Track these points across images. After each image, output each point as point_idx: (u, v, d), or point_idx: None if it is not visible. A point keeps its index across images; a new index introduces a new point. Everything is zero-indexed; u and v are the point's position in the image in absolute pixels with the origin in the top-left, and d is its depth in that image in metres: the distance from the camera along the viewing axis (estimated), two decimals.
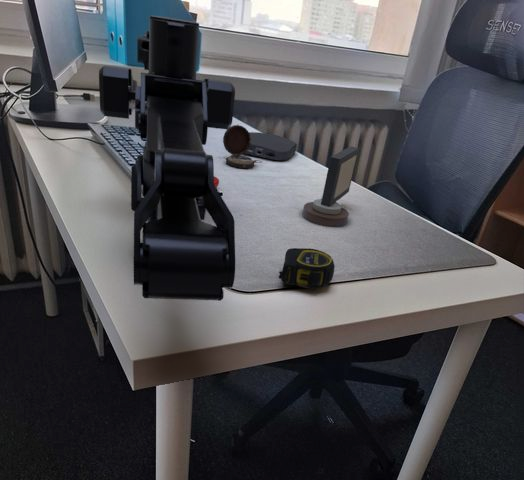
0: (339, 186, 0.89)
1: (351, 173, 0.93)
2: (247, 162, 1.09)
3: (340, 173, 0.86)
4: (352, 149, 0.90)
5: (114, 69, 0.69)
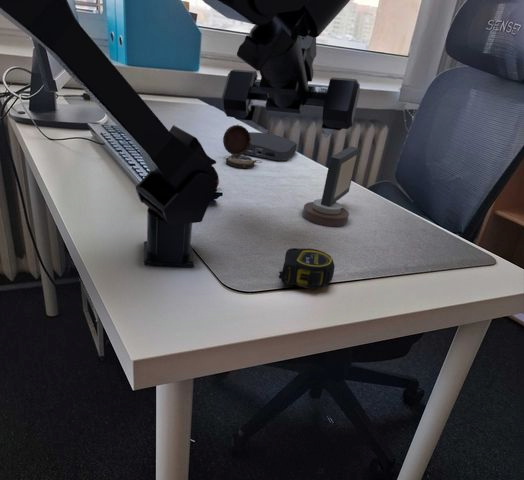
0: (339, 186, 0.89)
1: (351, 173, 0.93)
2: (247, 162, 1.09)
3: (340, 173, 0.86)
4: (352, 149, 0.90)
5: (243, 70, 0.72)
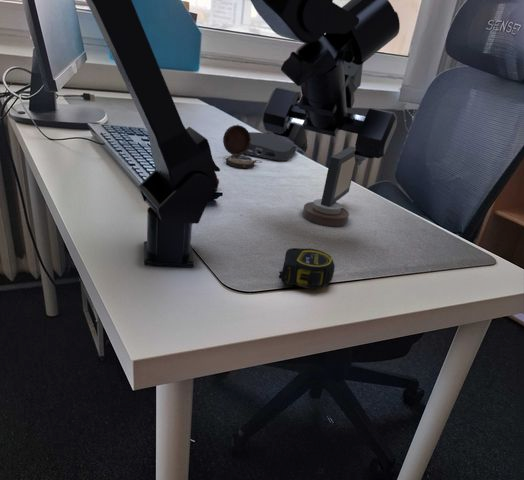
0: (339, 186, 0.89)
1: (351, 173, 0.93)
2: (247, 162, 1.09)
3: (340, 173, 0.86)
4: (352, 149, 0.90)
5: (288, 89, 0.75)
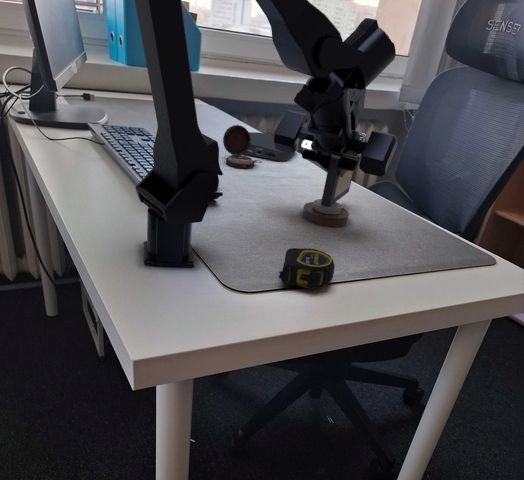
0: (339, 186, 0.89)
1: (351, 173, 0.93)
2: (247, 162, 1.09)
3: None
4: None
5: (297, 112, 0.81)
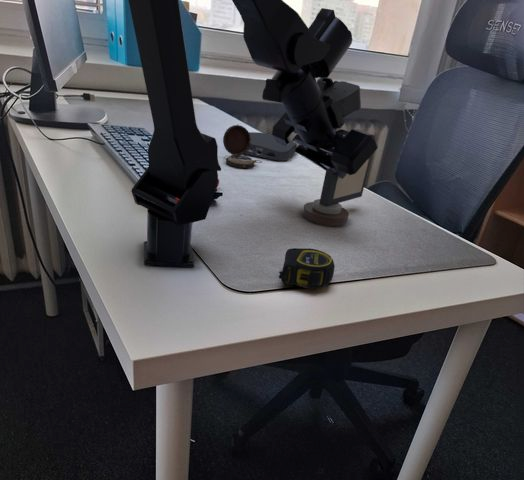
0: (341, 187, 0.88)
1: (362, 177, 0.92)
2: (247, 162, 1.09)
3: None
4: None
5: None
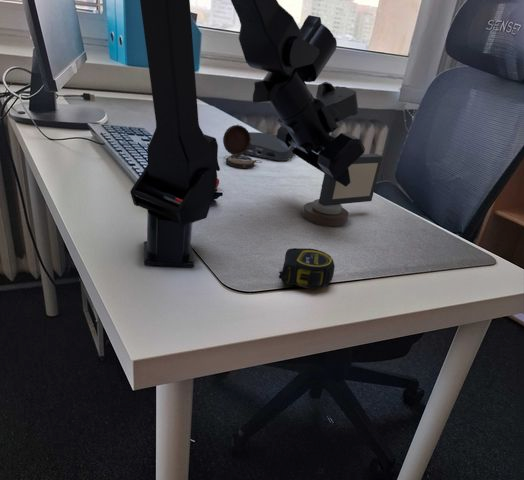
0: (342, 188, 0.88)
1: (370, 181, 0.91)
2: (247, 162, 1.09)
3: None
4: (371, 155, 0.88)
5: None
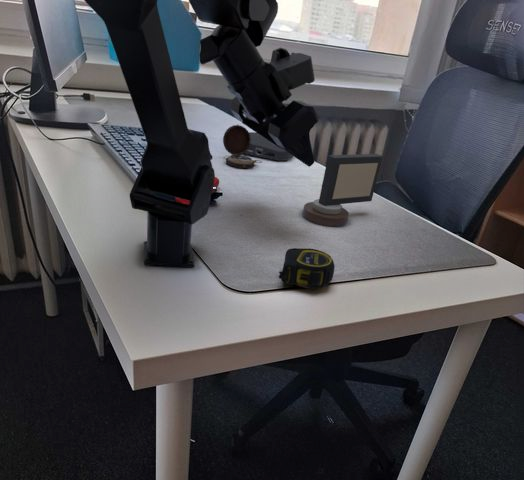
0: (342, 188, 0.88)
1: (370, 181, 0.91)
2: (247, 162, 1.09)
3: (340, 174, 0.86)
4: (371, 155, 0.88)
5: None
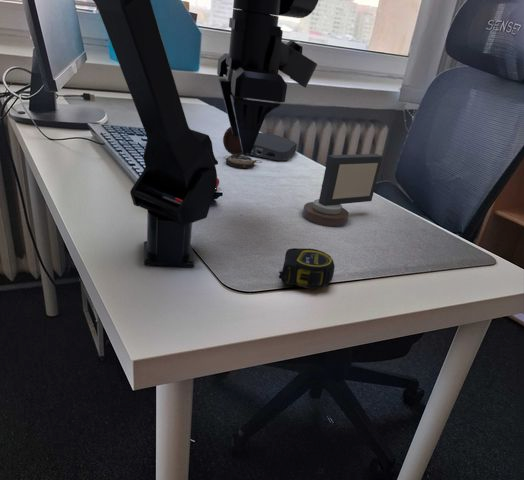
0: (342, 188, 0.88)
1: (370, 181, 0.91)
2: (247, 162, 1.09)
3: (340, 174, 0.86)
4: (371, 155, 0.88)
5: None
